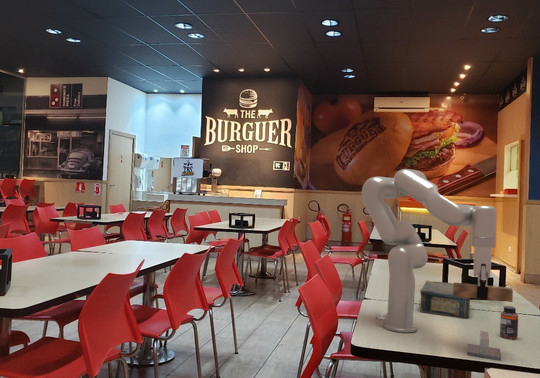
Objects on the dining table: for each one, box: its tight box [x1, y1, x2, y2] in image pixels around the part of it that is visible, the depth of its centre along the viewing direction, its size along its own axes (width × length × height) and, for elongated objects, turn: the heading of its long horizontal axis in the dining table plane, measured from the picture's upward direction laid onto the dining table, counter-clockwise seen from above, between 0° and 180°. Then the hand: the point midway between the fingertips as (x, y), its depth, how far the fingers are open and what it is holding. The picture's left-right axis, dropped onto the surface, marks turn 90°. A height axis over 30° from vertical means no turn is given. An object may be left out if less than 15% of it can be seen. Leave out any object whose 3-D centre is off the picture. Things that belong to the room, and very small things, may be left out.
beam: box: [453, 282, 514, 303], centre depth 164 cm, size 18×4×4 cm, turn 69°
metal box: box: [419, 280, 471, 319], centre depth 225 cm, size 21×32×10 cm, turn 158°
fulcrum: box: [466, 330, 502, 362], centre depth 161 cm, size 10×10×6 cm
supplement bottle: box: [499, 305, 519, 340], centre depth 182 cm, size 6×6×11 cm
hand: (482, 296), depth 164 cm, fingers closed on beam, 4 cm apart
